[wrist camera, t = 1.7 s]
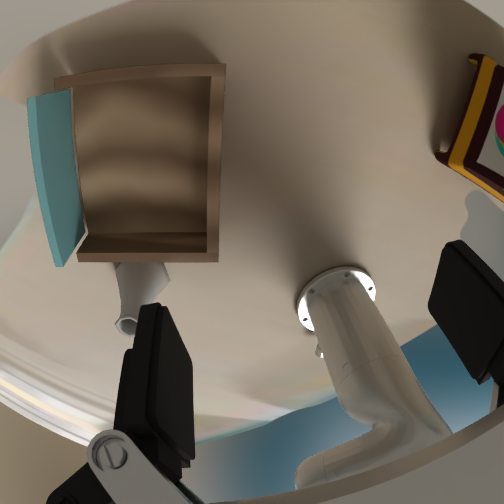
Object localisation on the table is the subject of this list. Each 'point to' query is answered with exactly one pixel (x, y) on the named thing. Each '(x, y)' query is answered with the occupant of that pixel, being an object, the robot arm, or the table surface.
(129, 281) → the flask
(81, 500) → the robot arm
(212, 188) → the crate
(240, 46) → the table surface
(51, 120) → the teal panel
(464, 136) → the decorative lantern
